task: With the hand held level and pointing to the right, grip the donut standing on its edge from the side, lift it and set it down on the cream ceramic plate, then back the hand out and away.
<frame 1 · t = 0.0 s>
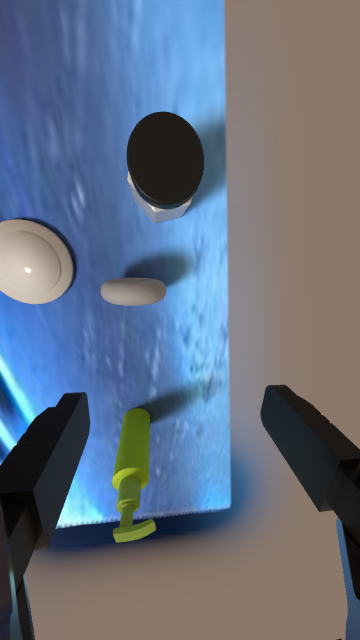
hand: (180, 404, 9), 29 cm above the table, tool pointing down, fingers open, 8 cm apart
plate: (31, 264, 32), on the table
donut: (137, 285, 36), on the table
jar: (161, 195, 32), on the table
soap dispenser: (139, 417, 45), on the table
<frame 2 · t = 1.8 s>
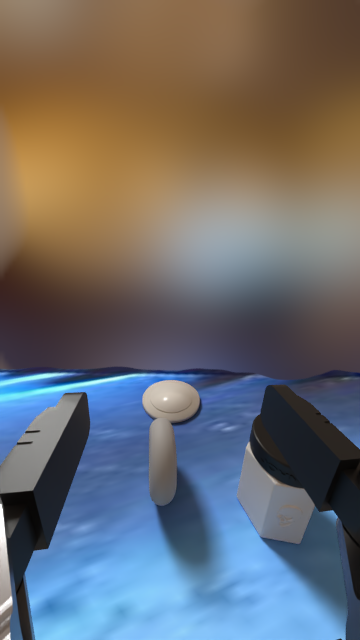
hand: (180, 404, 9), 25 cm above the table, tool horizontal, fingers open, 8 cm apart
plate: (171, 400, 45), on the table
donut: (160, 483, 29), on the table
jar: (269, 503, 27), on the table
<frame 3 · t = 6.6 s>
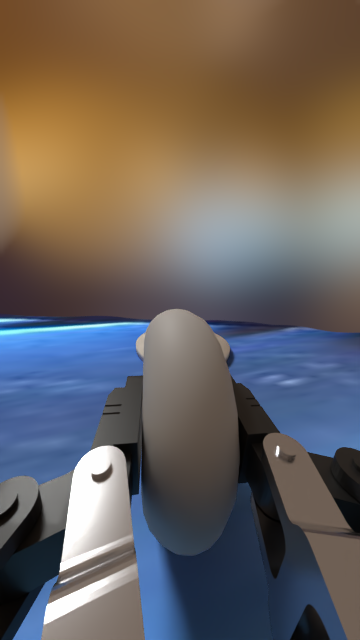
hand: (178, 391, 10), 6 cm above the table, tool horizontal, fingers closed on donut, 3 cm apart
plate: (182, 347, 28), on the table
donut: (172, 477, 12), on the table, touching gripper
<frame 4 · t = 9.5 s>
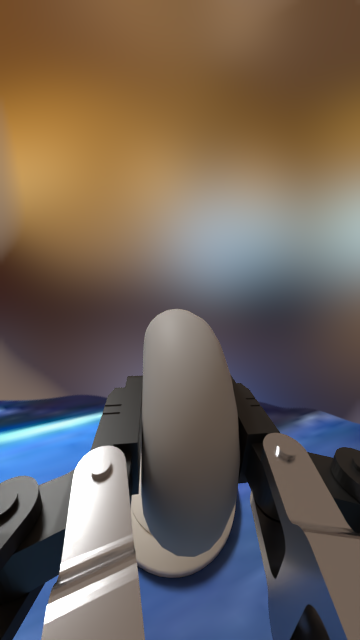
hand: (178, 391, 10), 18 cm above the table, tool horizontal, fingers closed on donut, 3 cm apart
plate: (173, 485, 21), on the table
donut: (172, 477, 12), point 11 cm above the table, touching gripper
when the fingers open (9 cm above the table, at t = 12.6 s): donut drops 1 cm, resting on plate.
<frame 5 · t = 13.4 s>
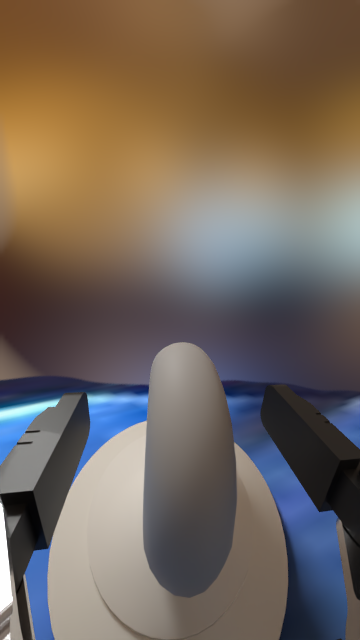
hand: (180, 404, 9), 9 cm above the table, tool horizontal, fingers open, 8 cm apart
plate: (171, 507, 13), on the table
donut: (175, 501, 12), point 1 cm above the table, touching plate
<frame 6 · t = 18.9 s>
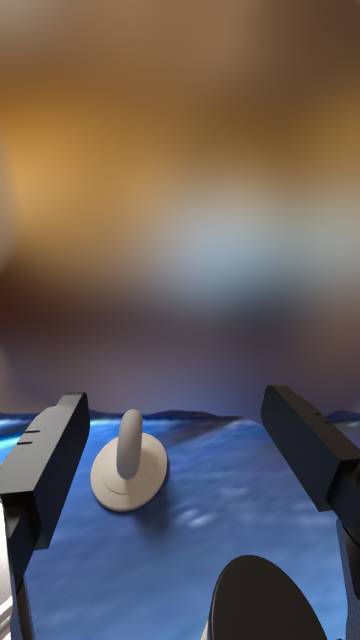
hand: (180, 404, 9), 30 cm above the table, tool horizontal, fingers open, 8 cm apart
plate: (130, 466, 35), on the table
donut: (131, 464, 35), point 1 cm above the table, touching plate
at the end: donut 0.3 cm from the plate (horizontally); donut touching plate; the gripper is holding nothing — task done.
